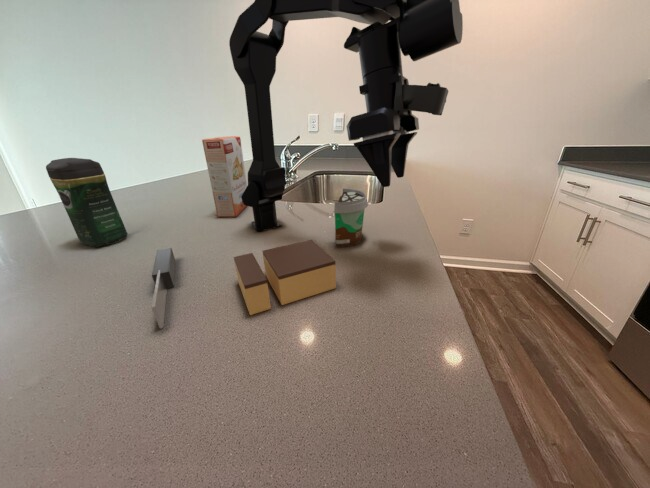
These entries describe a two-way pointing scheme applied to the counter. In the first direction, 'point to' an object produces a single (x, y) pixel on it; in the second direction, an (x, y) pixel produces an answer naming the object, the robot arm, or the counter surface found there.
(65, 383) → the counter surface
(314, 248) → the cake
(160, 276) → the knife
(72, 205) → the coffee jar
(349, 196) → the food container
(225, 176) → the cracker box
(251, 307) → the cake slice
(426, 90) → the robot arm
